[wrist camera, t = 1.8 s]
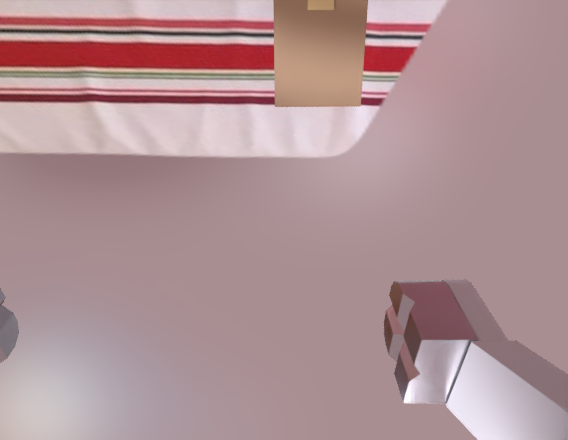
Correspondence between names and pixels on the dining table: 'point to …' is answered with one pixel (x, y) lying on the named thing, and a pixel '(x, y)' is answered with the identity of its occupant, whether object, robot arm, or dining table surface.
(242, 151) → the dining table surface
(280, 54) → the balance beam
